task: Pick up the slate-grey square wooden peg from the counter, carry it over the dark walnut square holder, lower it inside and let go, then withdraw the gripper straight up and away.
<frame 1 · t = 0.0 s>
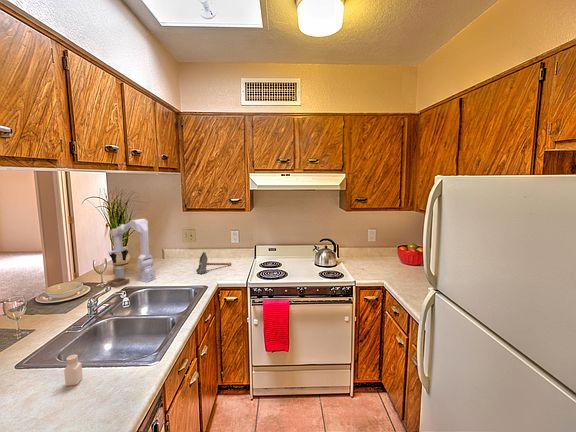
hand: (119, 261, 220), 10 cm above the counter, tool pointing down, fingers open, 7 cm apart
salt shaker: (74, 382, 103), on the counter
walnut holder: (118, 284, 200), on the counter
hammer: (215, 269, 233), on the counter
slate peg: (120, 278, 212), on the counter
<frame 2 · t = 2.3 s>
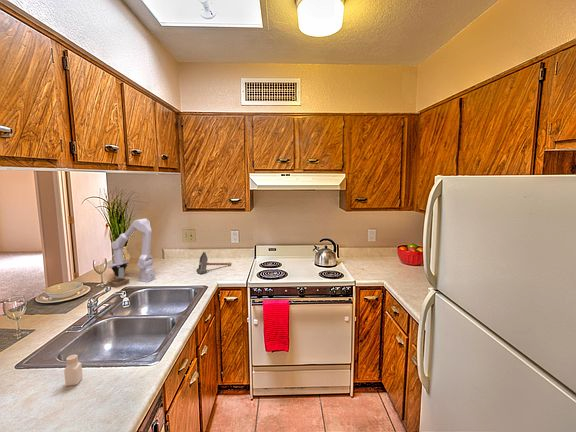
hand: (119, 275, 212), 2 cm above the counter, tool pointing down, fingers closed on slate peg, 4 cm apart
slate peg: (120, 278, 212), on the counter, touching gripper
everything else where it was.
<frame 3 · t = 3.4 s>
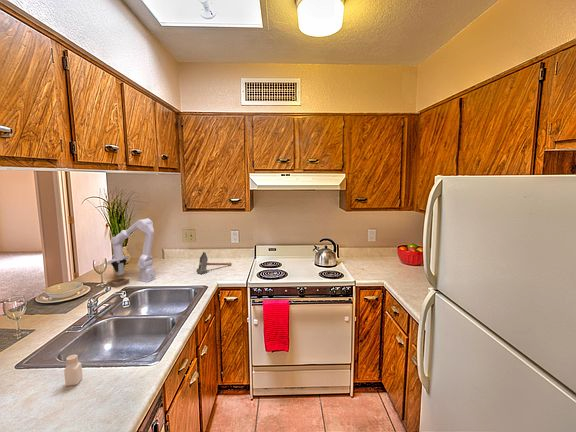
hand: (119, 270, 212), 6 cm above the counter, tool pointing down, fingers closed on slate peg, 4 cm apart
slate peg: (119, 274, 212), point 3 cm above the counter, touching gripper
everything else where it was.
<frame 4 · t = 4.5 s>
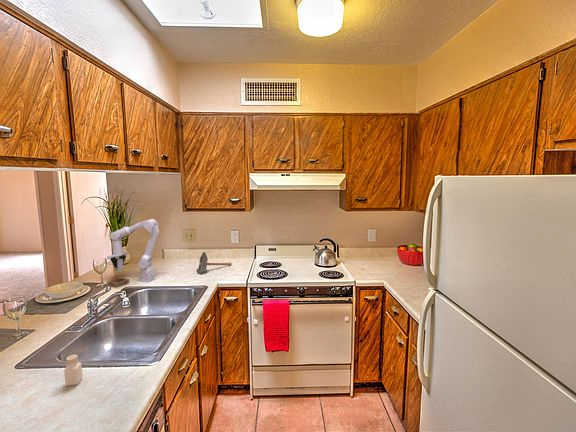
hand: (118, 266, 208), 10 cm above the counter, tool pointing down, fingers closed on slate peg, 4 cm apart
slate peg: (119, 270, 208), point 7 cm above the counter, touching gripper
everything else where it was.
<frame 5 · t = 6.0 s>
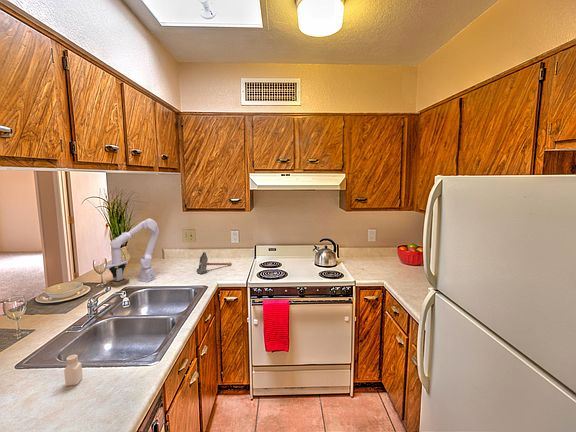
hand: (117, 276, 199), 6 cm above the counter, tool pointing down, fingers closed on slate peg, 4 cm apart
slate peg: (118, 279, 199), point 3 cm above the counter, touching gripper
everything else where it was.
when the fingers open (4 cm above the counter, at t = 7.1 s): slate peg drops 2 cm, resting in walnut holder.
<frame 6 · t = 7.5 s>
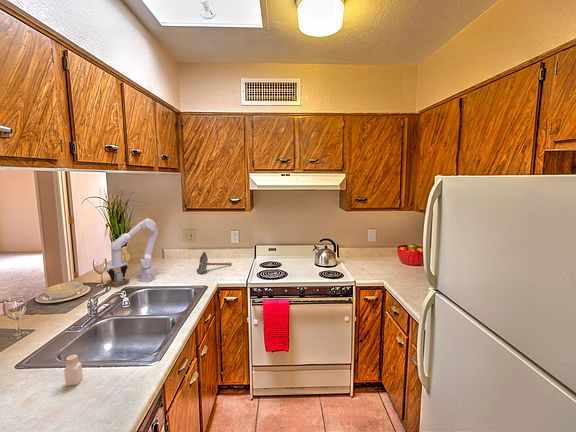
hand: (118, 278, 199), 4 cm above the counter, tool pointing down, fingers open, 7 cm apart
slate peg: (118, 284, 200), resting in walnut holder
everything else where it was.
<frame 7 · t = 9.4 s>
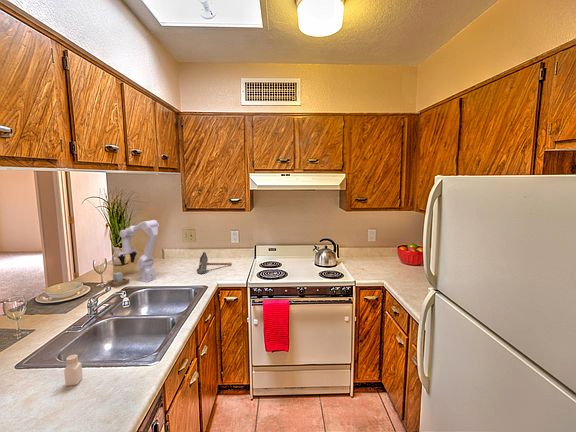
hand: (127, 263, 215), 10 cm above the counter, tool pointing down, fingers open, 7 cm apart
nothing on the counter moved.
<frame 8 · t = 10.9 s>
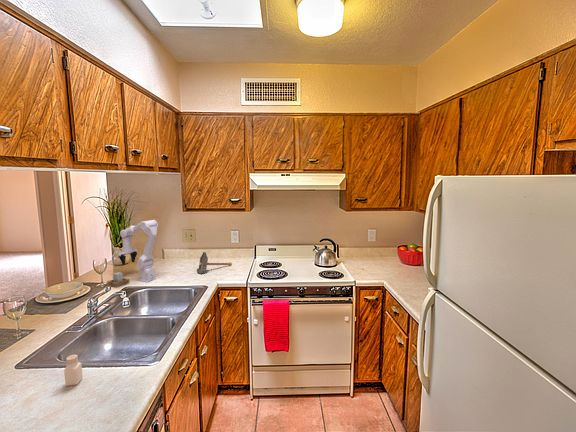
hand: (128, 263, 216), 10 cm above the counter, tool pointing down, fingers open, 7 cm apart
nothing on the counter moved.
at the end: slate peg 0.1 cm off-centre on the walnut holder, point 0.0 cm above the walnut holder's base; slate peg tilted 0°; the gripper is holding nothing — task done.
